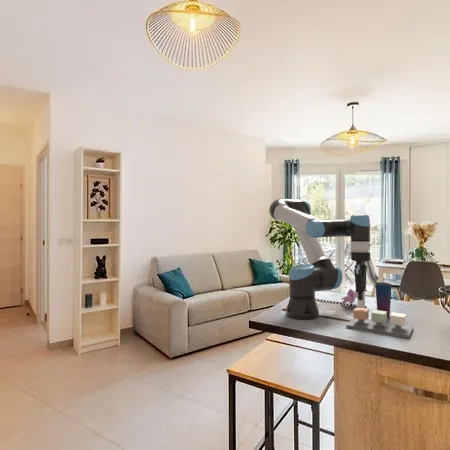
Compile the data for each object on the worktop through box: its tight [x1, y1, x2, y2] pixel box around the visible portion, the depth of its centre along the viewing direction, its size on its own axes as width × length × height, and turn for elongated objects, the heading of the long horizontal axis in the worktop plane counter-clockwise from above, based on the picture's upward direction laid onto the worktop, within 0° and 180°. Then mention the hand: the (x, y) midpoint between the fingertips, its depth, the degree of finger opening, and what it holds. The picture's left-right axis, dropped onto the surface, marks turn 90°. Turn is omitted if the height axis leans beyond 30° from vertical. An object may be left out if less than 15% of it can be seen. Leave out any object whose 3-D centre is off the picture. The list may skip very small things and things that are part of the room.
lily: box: [340, 288, 359, 308], centre depth 168 cm, size 12×12×10 cm
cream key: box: [389, 311, 407, 326], centre depth 131 cm, size 5×5×4 cm
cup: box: [374, 281, 393, 319], centre depth 151 cm, size 7×7×15 cm
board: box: [345, 317, 414, 339], centre depth 135 cm, size 23×13×3 cm, turn 55°
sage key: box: [370, 309, 388, 323], centre depth 135 cm, size 5×5×4 cm
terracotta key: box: [352, 306, 370, 320], centre depth 139 cm, size 5×5×4 cm
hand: (361, 306), depth 139 cm, fingers closed
